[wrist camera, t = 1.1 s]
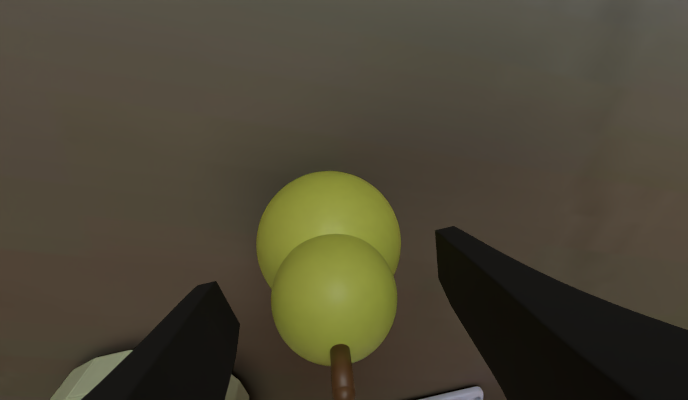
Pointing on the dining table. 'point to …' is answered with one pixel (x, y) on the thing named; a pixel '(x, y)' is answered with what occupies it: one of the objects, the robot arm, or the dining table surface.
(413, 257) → the dining table surface
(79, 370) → the bowl
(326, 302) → the pear
